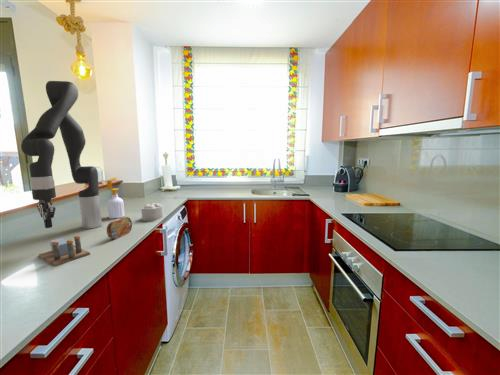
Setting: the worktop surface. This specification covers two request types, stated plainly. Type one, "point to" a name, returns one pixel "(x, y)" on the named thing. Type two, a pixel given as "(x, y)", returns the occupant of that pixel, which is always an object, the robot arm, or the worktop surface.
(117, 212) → the soap bottle
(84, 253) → the board
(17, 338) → the worktop surface
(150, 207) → the lumpy-topped squat cylinder
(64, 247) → the rectangular block
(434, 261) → the worktop surface
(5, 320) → the worktop surface
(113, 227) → the tin
